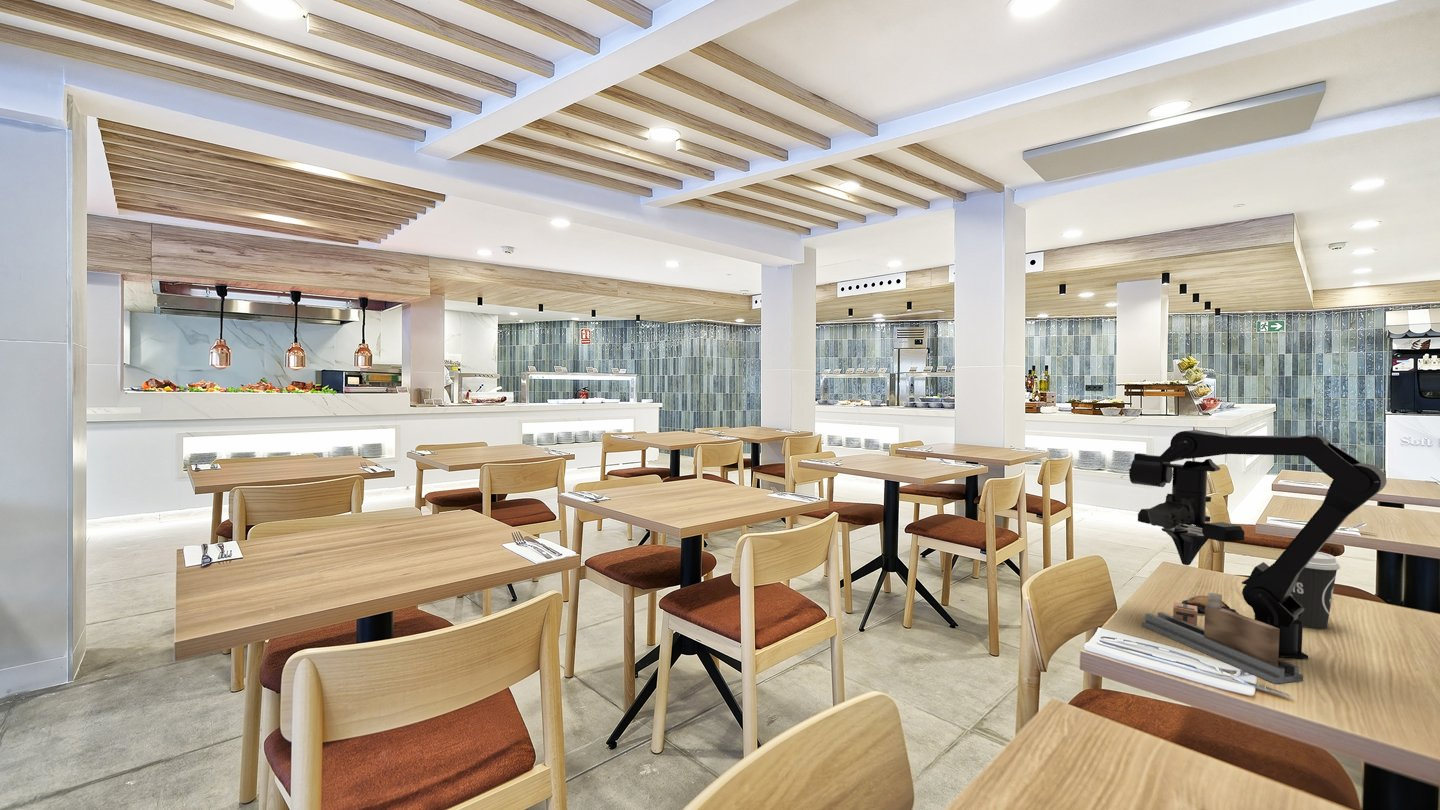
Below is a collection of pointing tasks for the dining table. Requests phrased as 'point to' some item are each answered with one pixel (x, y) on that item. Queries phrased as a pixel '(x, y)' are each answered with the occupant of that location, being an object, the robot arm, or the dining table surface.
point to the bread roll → (1202, 601)
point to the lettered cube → (1185, 613)
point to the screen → (1240, 631)
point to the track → (1221, 649)
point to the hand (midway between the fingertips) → (1186, 564)
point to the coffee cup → (1316, 590)
